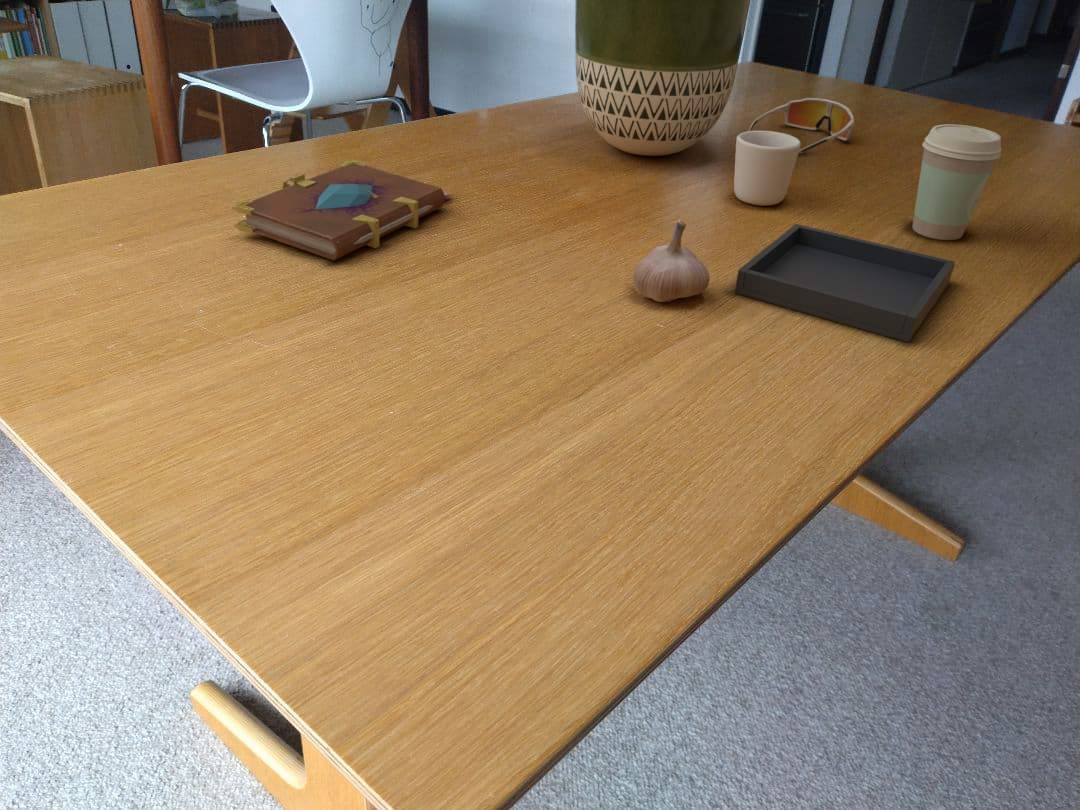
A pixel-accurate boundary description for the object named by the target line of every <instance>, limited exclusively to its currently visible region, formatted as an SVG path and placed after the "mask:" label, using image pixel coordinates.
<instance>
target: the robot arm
mask: <svg viewBox="0 0 1080 810" xmlns="http://www.w3.org/2000/svg"><path fill="white" fill-rule="evenodd" d="M959 1H960V2H961V1H963V2H968V3H969V2H970V3H980V4H988V5H989V4H991V3H992V1H993V0H959Z"/></svg>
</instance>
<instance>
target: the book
mask: <svg viewBox="0 0 1080 810" xmlns="http://www.w3.org/2000/svg"><path fill="white" fill-rule="evenodd" d="M339 165H340V166H339V167H336V168H334V169H330V170H328V171H326V172H324V173H321V174H317V175H316V176H313V177H309V178H307V179H306V175H305V173H302V174H299V175H296V176H293V177H290V178H288V179H286V180H281V184H280V185H281V186H280V189H279V190H275V191H274V192H271V193H268V194H266V195H262V196H260V197H258V198H254V199H252V200H250V199H248V200H242V201H238V202H236V203H235V204H234V205H232V206H231V209H232V210H233V211H234V212H236V213H238V214H244V215H245V219H241V220H239V221H237V222H236V223H235V224H233V227H234V228H235V229H236V230H238V231H239V232H243V233H249V234H258V235H260V236H263V237H265V238H268V239H271V240H275V241H278V242H280V243H283V244H286V245H289V246H292V247H294V248H298V249H300V250H303V251H305V252H309V253H312V254H315V255H316V256H320V257H323V258H326V259H329V260H331V261H336V260H338V259H340V258H342V257H344V256H346V255H348V254H350V253H352V252H354V251H356V250H359V249H360V248H363V247H364V246H368V247H371V248H373V249H376V248H378V247H380V239H381V238H382V237H384V236H386V235H388V234H391V233H392V232H394V231H397V230H398V229H400V228H402V227H405V226H406V227H409V228H411V229H417V228H418V227H419V219H421V218H423V217H424V216H426V215H429V214H431V213H432V212H435V211H437V210H438V209H441V208H442V207H443V205H444V204H445V202H446V200H447V199H448V198H451V197H452V196H453V195H452V194H445V193H444V191H443V189H442V188H441V187H440V186H436V185H433V184H429V183H425V182H423V181H419V180H416V179H412V178H409V177H406V176H402V175H400V174H395V173H392V172H389V171H386V170H383V169H379V168H376V167H372V166H369V165H368V164H367V163H364V162H363V161H361V160H360V159H357V160H354V159H353V160H351V159H350V160H349V159H348V160H346V161H344V162H343V163H341V164H339ZM288 182H292V185H291V184H289V183H288Z"/></svg>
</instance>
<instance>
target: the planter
mask: <svg viewBox="0 0 1080 810" xmlns="http://www.w3.org/2000/svg"><path fill="white" fill-rule="evenodd" d="M751 2H752V0H575V2H574V3H575V7H574V8H575V9H574V11H575V12H574V15H575V16H574V18H575V19H574V21H575V22H574V23H575V24H574V37H575V38H574V45H575V46H574V48H575V49H574V51H575V53H574V55H575V56H574V58H575V59H574V60H575V64H574V65H575V82H576V87H577V93H578V98H579V102H580V105H581V108H582V111H583V113H584V115H585V117H586V119H587V121H588V122H589V124H590V125H591V127H592V128H593V129H594V130H595V132H596V133H597V134H598V135H599V136H600V137H601V138H602V139H604V141H605V142H607V143H608V144H609V145H611V146H612V147H614V148H616V149H617V150H619V151H622V152H625V153H628V154H632V155H637V156H645V157H660V156H661V157H662V156H663V157H664V156H668V155H669V156H670V155H673V154H677V153H680V152H682V151H684V150H686V149H688V148H690V147H691V146H693V145H694V144H696V143H698V141H700V140H701V139H702V138H703V137H705V136H706V135H707V134H708V133H709V132H710V131H711V130H712V128H713V127H714V126H715V125H716V124H717V123H718V121H719V120H720V118H721V116H722V114H723V112H724V110H725V109H726V106H727V103H728V101H729V99H730V97H731V93H732V91H733V87H734V83H735V79H736V74H737V70H738V65H739V60H740V56H741V50H742V45H743V41H744V36H745V32H746V25H747V21H748V16H749V11H750V5H751Z"/></svg>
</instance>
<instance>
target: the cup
mask: <svg viewBox="0 0 1080 810" xmlns="http://www.w3.org/2000/svg"><path fill="white" fill-rule="evenodd" d="M801 144H802V143H801V141H800V139H799V138H797V137H795V136H793V135H791V134H788V133H783V132H779V131H773V130H772V131H771V130H751V131H749V130H748V131H743V132H741V133H739V134H738V135H737V136H736V140H735V158H734V159H735V160H734V177H733V178H734V179H733V190H734V195H735V197H736V198H737V199H738V200H740V201H741V202H744V203H745V204H746V203H747V204H748V205H749V204H750V205H753V206H761V207H762V206H766V207H767V206H774V205H777V204H780V203H781V202H782V201H783V200H784V199H785V197H786V195H787V193H788V189H789V186H790V183H791V180H792V176H793V172H794V170H795V166H796V163H797V159H798V157H799V154H800V153H799V150H801Z"/></svg>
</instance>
